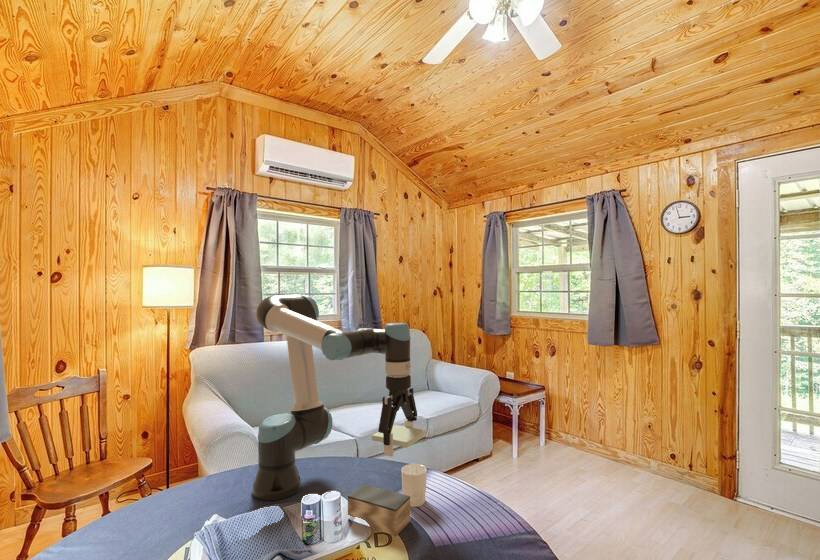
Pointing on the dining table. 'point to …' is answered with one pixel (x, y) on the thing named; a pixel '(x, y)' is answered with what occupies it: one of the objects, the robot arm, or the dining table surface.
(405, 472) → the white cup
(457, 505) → the dining table surface
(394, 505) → the stand
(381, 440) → the cover board
